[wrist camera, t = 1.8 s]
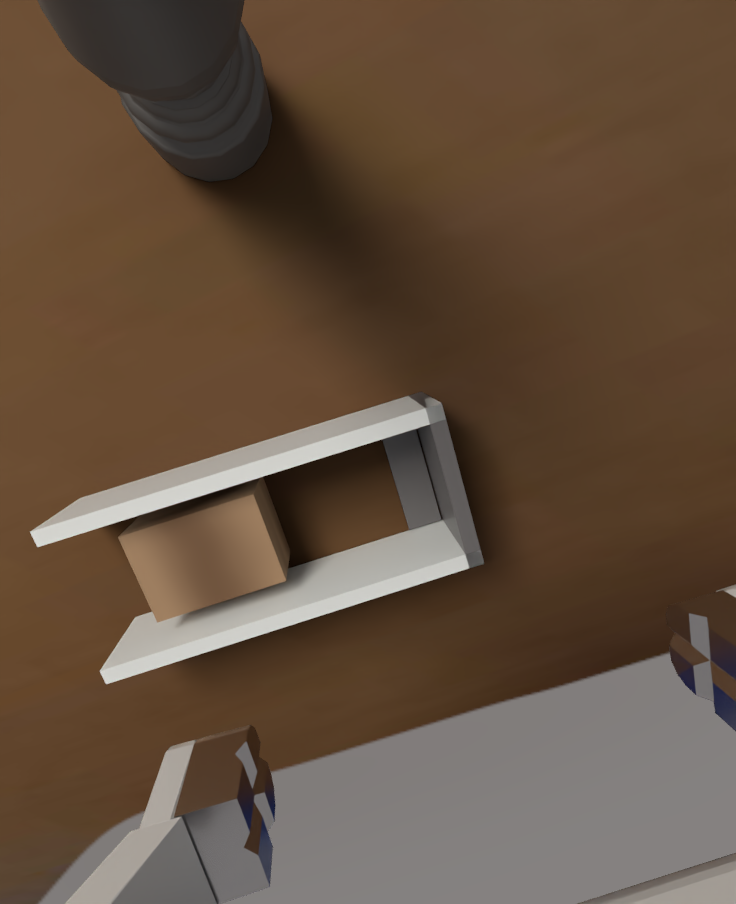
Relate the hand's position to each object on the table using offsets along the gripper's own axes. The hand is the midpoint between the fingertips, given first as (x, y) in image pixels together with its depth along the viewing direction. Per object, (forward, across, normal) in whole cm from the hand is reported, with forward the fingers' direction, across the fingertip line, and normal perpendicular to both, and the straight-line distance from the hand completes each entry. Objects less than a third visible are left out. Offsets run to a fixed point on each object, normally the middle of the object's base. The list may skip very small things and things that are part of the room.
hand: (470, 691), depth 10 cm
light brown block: (+21, +9, +2) cm, 23 cm away
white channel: (+20, +6, +2) cm, 21 cm away
